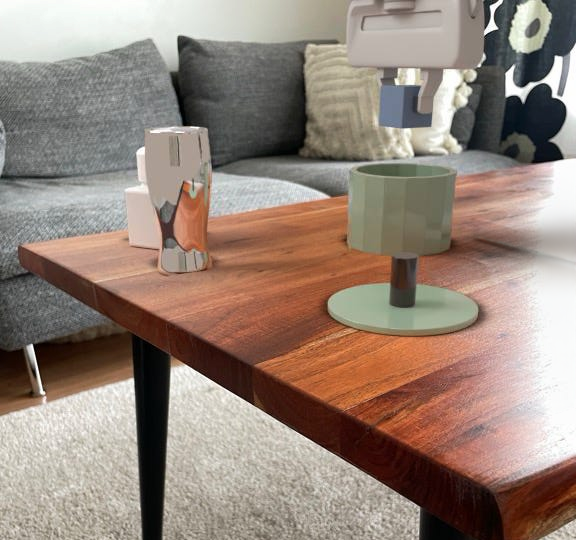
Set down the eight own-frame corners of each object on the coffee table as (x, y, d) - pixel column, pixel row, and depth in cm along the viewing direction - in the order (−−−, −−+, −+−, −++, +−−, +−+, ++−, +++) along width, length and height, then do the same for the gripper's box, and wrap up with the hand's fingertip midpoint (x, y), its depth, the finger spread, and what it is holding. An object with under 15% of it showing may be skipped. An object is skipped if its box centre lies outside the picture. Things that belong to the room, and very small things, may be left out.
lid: (412, 286, 75) (416, 232, 72) (509, 325, 64) (517, 262, 62) (300, 307, 69) (300, 248, 66) (386, 354, 58) (390, 285, 55)
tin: (406, 232, 98) (410, 160, 94) (471, 252, 88) (479, 172, 84) (328, 243, 92) (330, 167, 88) (388, 265, 82) (393, 181, 78)
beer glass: (206, 279, 77) (198, 132, 71) (144, 276, 78) (132, 131, 72) (223, 263, 84) (217, 126, 77) (165, 260, 85) (155, 125, 78)
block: (407, 124, 87) (410, 84, 85) (431, 127, 83) (435, 86, 82) (378, 125, 85) (380, 85, 83) (401, 128, 81) (404, 86, 80)
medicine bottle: (161, 235, 97) (154, 141, 92) (206, 240, 94) (201, 144, 89) (128, 246, 91) (118, 147, 86) (175, 252, 88) (168, 150, 83)
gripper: (506, -33, 71) (490, 116, 77) (382, -16, 87) (376, 106, 93) (458, -37, 68) (445, 119, 74) (338, -19, 84) (335, 107, 90)
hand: (405, 111), depth 83 cm, fingers closed on block, 4 cm apart
